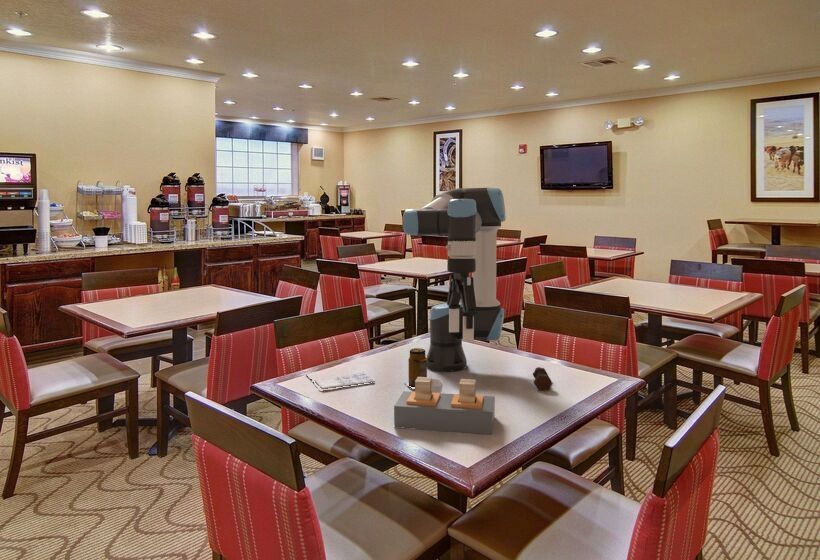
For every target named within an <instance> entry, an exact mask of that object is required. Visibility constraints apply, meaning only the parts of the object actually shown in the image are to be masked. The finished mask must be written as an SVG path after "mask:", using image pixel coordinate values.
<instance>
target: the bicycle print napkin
mask: <svg viewBox="0 0 820 560" xmlns="http://www.w3.org/2000/svg"><path fill="white" fill-rule="evenodd" d="M341 379H348V380H341ZM338 380H340V381H338ZM314 381H315V383H316V384H317V385H318V386H320V388H321V389H328V388H336V387H343V386H351V385H358V384H364V383H371V382H372V383H375V382H376V380H375V379H373V378H372V377H370V376H369V375H368V374H367V373H366V372H365V371H360V372H359V373H356V374H351V375H346V376H341V377H334V378H323V379H315V380H314Z"/></svg>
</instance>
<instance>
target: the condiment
mask: <svg viewBox="0 0 820 560" xmlns="http://www.w3.org/2000/svg"><path fill="white" fill-rule="evenodd" d="M426 357H427V355H426V349H424V348H420V347H418V348H417V347H415V348H410V349H409V358H408V382H409V386H411V387H415V381H416V379H417V377H428V368H427V359H426ZM411 387H408V388H409V389H410V388H411ZM410 390H411V391H414V390H413V389H412V388H411V389H410Z"/></svg>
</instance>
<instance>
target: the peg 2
mask: <svg viewBox="0 0 820 560" xmlns="http://www.w3.org/2000/svg"><path fill="white" fill-rule="evenodd" d="M476 382H477V381H476V379H468V378H461V379H460V380H459V385H458V386H459V388H458V389H459V391H458V394H459V402H464V403H476V395H477V393H476V390H477V389H476V388H477V384H476Z"/></svg>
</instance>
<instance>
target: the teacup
mask: <svg viewBox="0 0 820 560" xmlns="http://www.w3.org/2000/svg"><path fill="white" fill-rule="evenodd" d="M443 384H444V381H442V380H441V379H437V378H432V393H444V394H447V393H446V392H444V391H442V390H443V386H444V385H443Z"/></svg>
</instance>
